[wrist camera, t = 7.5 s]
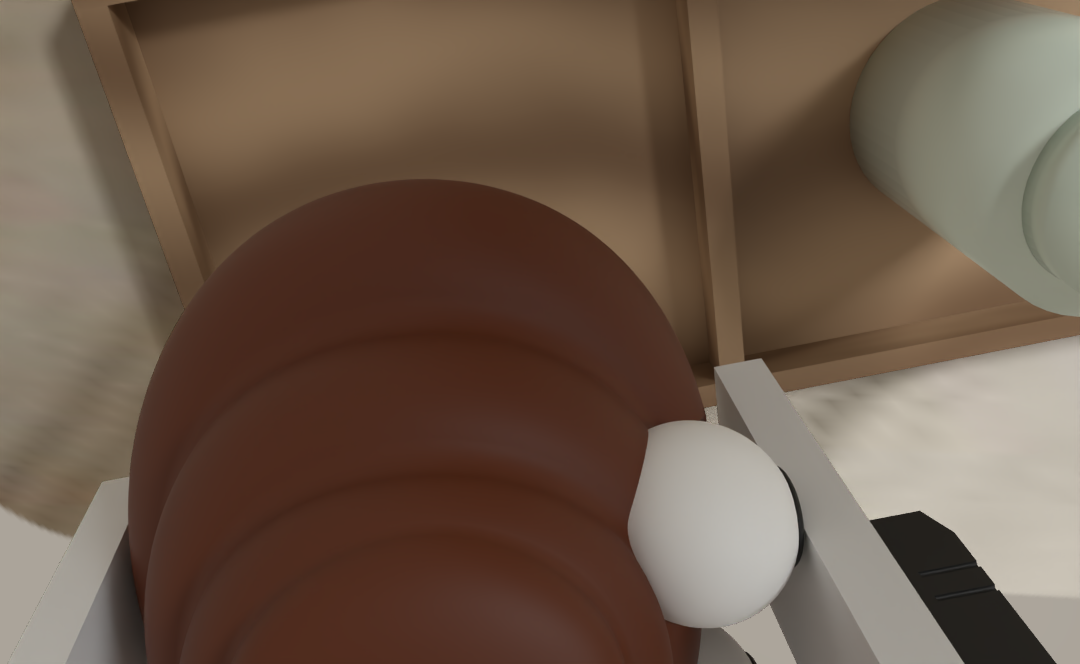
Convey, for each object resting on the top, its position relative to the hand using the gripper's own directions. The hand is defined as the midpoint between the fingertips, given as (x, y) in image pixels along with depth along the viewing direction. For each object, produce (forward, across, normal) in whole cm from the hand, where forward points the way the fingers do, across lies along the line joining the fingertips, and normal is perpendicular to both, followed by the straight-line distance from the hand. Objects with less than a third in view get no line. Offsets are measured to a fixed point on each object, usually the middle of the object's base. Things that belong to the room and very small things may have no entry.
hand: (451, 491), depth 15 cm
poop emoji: (+1, 0, 0) cm, 1 cm away
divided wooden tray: (+15, +8, 0) cm, 17 cm away
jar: (+15, +16, 0) cm, 21 cm away
